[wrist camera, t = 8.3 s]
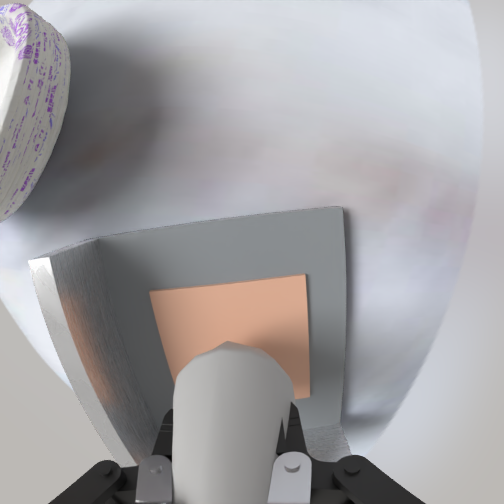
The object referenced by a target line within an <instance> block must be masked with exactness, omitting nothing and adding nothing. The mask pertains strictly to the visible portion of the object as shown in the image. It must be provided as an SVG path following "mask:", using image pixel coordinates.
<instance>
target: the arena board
mask: <svg viewBox="0 0 504 504" xmlns="http://www.w3.org/2000/svg"><path fill="white" fill-rule="evenodd" d="M93 239H98V242H99V247H100V252H101V257H102V262H103V267H104V271H105V276H106V280H107V284H108V288H109V292H110V296H111V300H112V304H113V307H114V311H115V315H116V318H117V321H118V325H119V328H120V331H121V335H122V338H123V341H124V344H125V347H126V350H127V353H128V356H129V359H130V361H131V364H132V367H133V370H134V372H135V375H136V378H137V380H138V383H139V385H140V388H141V390H142V393H143V395H144V398H145V400H146V402H147V405H148V407H149V409H150V412H151V414H152V416H153V418H154V420H155V423H156V425H157V427H158V429H159V431H160V427H161V425H162V421H163V418H164V415H165V414H166V413H167V412H168V411H169V410H170V409H173V395H174V389H175V384H176V378H177V376H178V374H179V373H180V371H181V370H182V369H183V368H184V367H185V366H186V365H187V364H188V363H189V362H190V361H191V360H192V359H193V358H194V357H195V356H197V355H199V354H202V353H204V352H207V351H209V350H212V349H214V348H216V347H217V346H219V345H221V344H222V343H224V342H225V341H230V342H234V343H239V344H243V345H247V346H251V347H256V348H260V349H262V350H263V351H265V352H266V353H267V354H268V355H270V356H271V357H272V358H273V359H275V360H276V362H277V363H278V364H279V365H280V366H281V368H282V369H283V370H284V371H285V372H286V374H287V375H288V376H289V377H290V379H291V381H292V384H293V390H294V396H295V402H296V403H295V406H296V407H297V408H298V411H299V416H300V421H301V425H302V430H305V429H311V428H316V427H322V426H327V425H332V424H337V423H340V418H341V408H342V397H343V385H344V370H345V349H346V257H345V236H344V220H343V207H338V206H335V207H324V208H313V209H303V210H293V211H284V212H274V213H265V214H257V215H248V216H240V217H232V218H224V219H216V220H208V221H201V222H193V223H186V224H179V225H172V226H165V227H158V228H152V229H145V230H139V231H133V232H126V233H120V234H114V235H108V236H102V237H97V238H91V239H86V240H83V241H87V240H93ZM80 242H82V241H80Z"/></svg>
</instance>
